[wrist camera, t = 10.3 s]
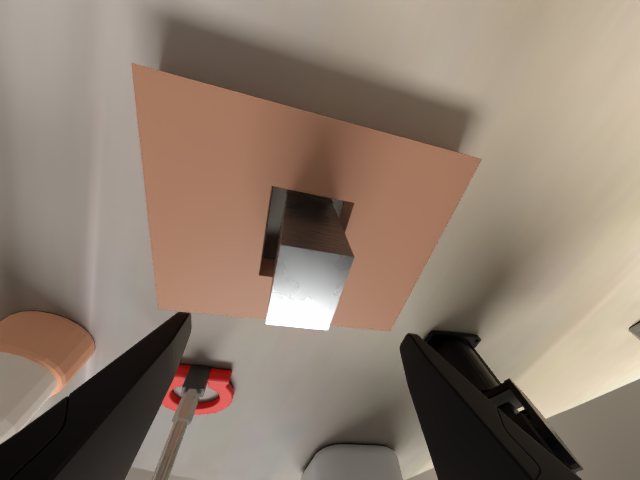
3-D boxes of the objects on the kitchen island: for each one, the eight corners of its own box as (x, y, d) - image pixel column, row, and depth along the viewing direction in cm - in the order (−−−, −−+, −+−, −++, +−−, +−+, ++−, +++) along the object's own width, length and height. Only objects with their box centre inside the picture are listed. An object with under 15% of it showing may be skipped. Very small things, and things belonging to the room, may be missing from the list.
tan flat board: (457, 153, 17) (481, 159, 15) (381, 311, 24) (390, 331, 22) (158, 71, 13) (131, 63, 11) (173, 287, 20) (158, 308, 18)
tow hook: (229, 407, 31) (241, 367, 26) (189, 578, 20) (198, 558, 15) (160, 401, 29) (161, 357, 25) (72, 587, 18) (45, 567, 13)
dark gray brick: (331, 201, 18) (354, 257, 11) (316, 255, 20) (327, 330, 13) (286, 192, 17) (280, 244, 10) (276, 249, 19) (265, 324, 12)
